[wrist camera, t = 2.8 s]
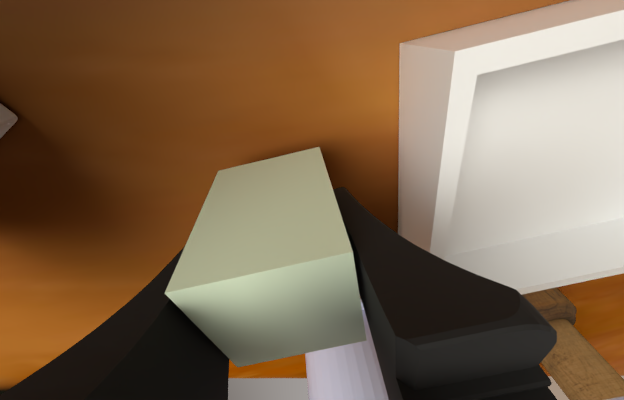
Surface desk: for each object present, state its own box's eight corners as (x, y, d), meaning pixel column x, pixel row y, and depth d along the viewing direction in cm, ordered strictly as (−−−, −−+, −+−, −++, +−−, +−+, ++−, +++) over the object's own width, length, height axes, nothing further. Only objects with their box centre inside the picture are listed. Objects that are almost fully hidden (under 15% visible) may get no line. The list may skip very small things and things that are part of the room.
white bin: (618, 217, 18) (691, 258, 15) (397, 266, 19) (421, 315, 16) (825, -64, 10) (1102, -109, 6) (399, 43, 10) (454, 51, 7)
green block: (334, 223, 13) (366, 340, 8) (253, 241, 13) (237, 367, 8) (319, 146, 10) (352, 251, 6) (218, 170, 11) (164, 293, 6)
